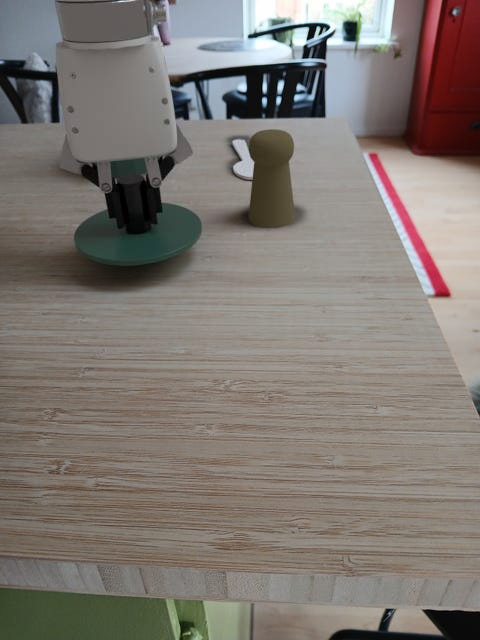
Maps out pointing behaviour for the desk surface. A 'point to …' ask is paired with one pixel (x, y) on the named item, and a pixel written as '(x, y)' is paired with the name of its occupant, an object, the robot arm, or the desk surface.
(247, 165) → the spoon
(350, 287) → the desk surface
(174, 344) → the desk surface
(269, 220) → the pepper mill
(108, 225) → the pot lid
